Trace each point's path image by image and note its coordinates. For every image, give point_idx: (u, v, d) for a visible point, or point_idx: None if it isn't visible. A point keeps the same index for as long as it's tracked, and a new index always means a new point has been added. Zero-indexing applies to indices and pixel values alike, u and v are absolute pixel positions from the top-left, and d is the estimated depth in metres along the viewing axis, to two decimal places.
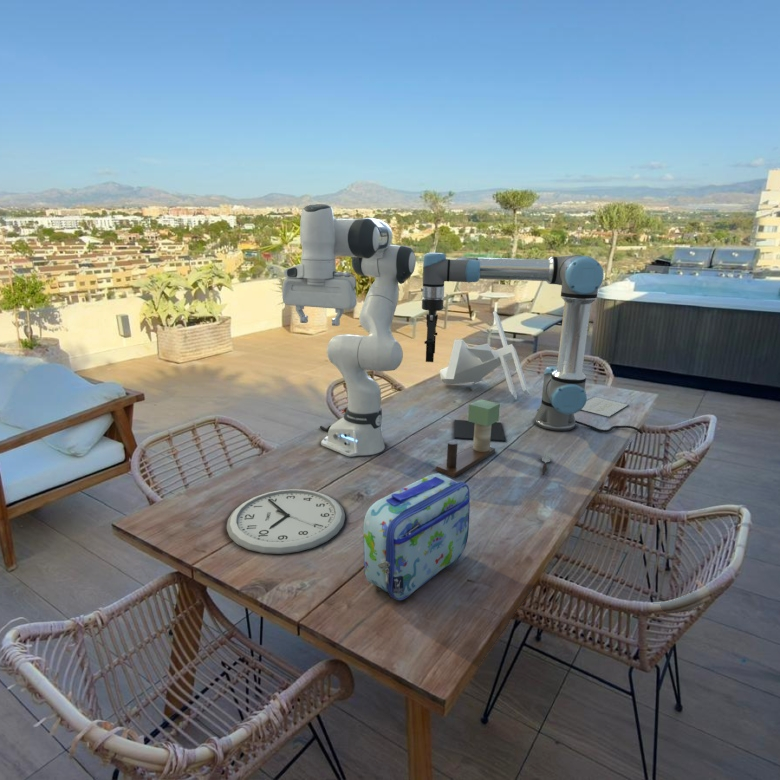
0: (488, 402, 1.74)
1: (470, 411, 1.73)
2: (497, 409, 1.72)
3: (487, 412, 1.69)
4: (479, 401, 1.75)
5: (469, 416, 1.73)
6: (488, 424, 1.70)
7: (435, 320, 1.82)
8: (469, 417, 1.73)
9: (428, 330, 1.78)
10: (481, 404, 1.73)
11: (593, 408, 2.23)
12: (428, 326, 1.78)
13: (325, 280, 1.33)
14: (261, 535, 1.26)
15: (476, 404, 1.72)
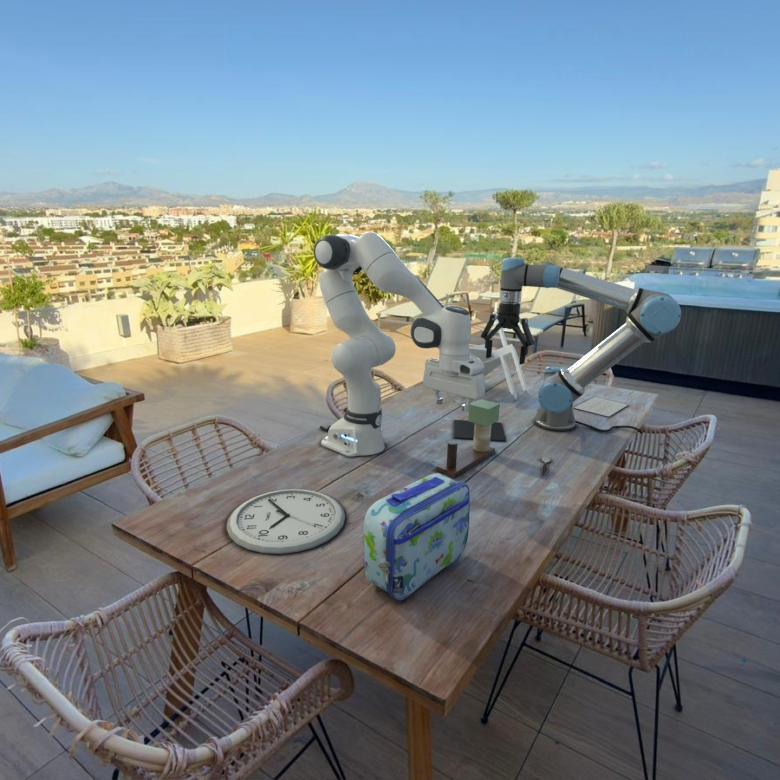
0: (488, 402, 1.74)
1: (470, 411, 1.73)
2: (497, 409, 1.72)
3: (487, 412, 1.69)
4: (479, 401, 1.75)
5: (469, 416, 1.73)
6: (488, 424, 1.70)
7: None
8: (469, 417, 1.73)
9: (528, 333, 1.83)
10: (481, 404, 1.73)
11: (593, 408, 2.23)
12: (526, 329, 1.83)
13: None
14: (261, 535, 1.26)
15: (476, 404, 1.72)
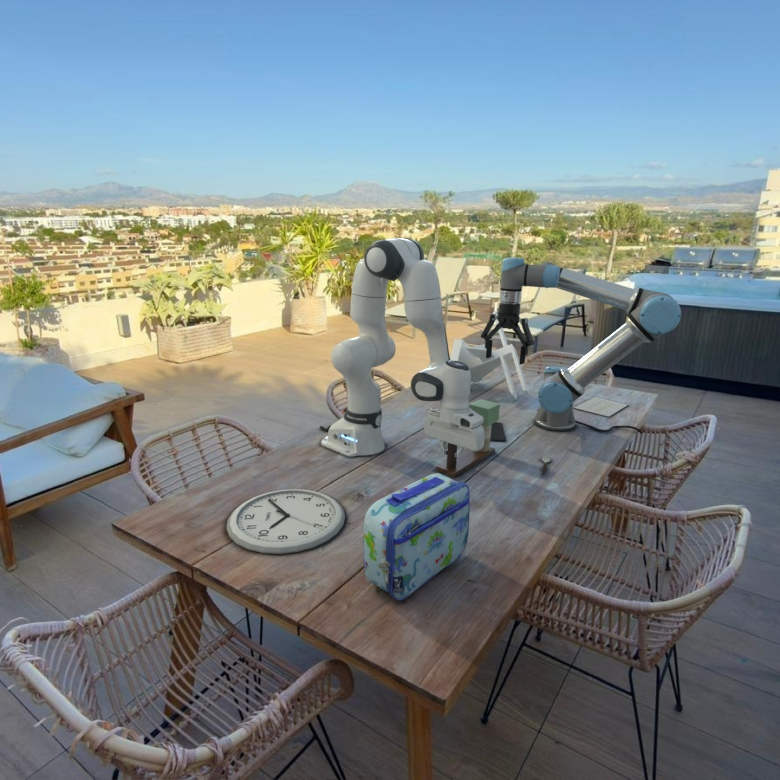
0: (488, 402, 1.74)
1: None
2: (497, 409, 1.72)
3: (487, 412, 1.69)
4: (479, 401, 1.75)
5: None
6: (488, 424, 1.70)
7: None
8: None
9: (528, 333, 1.83)
10: (481, 404, 1.73)
11: (593, 408, 2.23)
12: (526, 329, 1.83)
13: None
14: (261, 535, 1.26)
15: (476, 404, 1.72)
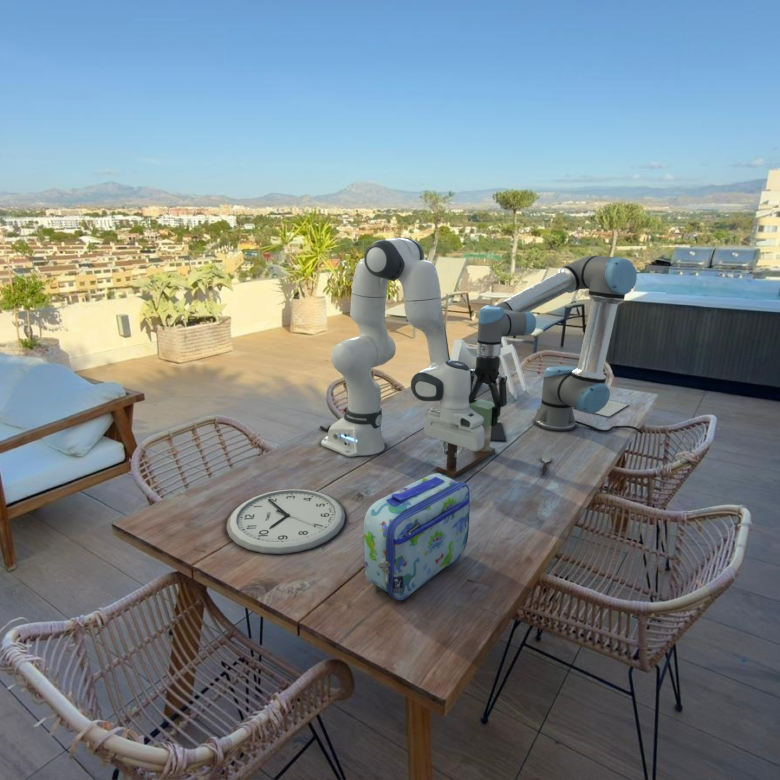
0: (488, 402, 1.74)
1: None
2: None
3: (487, 412, 1.69)
4: (479, 401, 1.75)
5: None
6: (488, 424, 1.70)
7: None
8: None
9: (503, 394, 1.67)
10: (481, 404, 1.73)
11: None
12: (503, 389, 1.66)
13: None
14: (261, 535, 1.26)
15: (476, 404, 1.72)
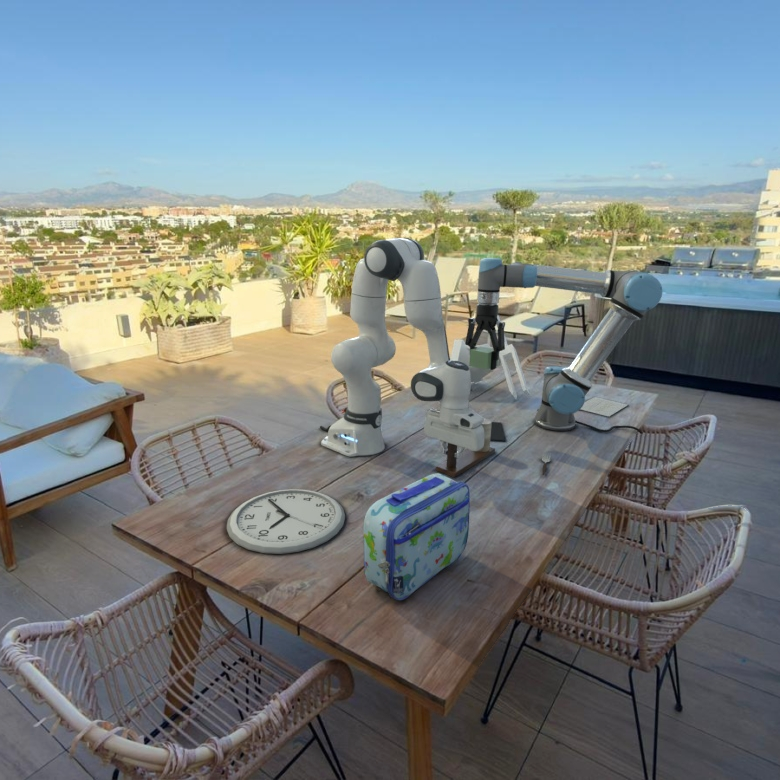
0: (487, 349, 1.89)
1: (471, 356, 1.87)
2: None
3: (487, 356, 1.83)
4: (479, 348, 1.90)
5: (470, 361, 1.88)
6: (488, 367, 1.85)
7: None
8: (470, 362, 1.88)
9: (501, 338, 1.81)
10: (481, 349, 1.87)
11: (593, 408, 2.23)
12: (501, 334, 1.81)
13: None
14: (261, 535, 1.26)
15: (477, 349, 1.87)
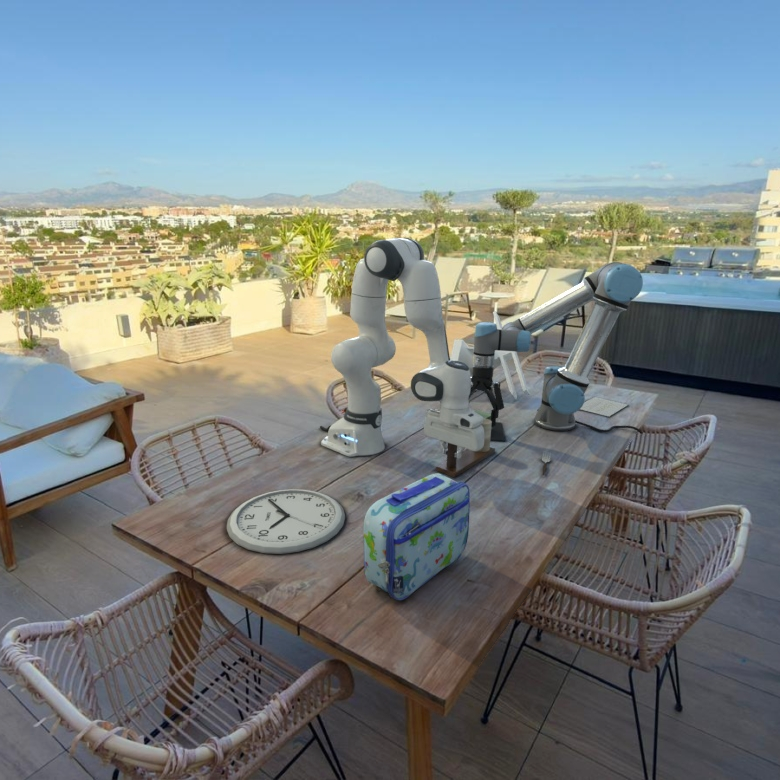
0: (482, 413, 1.96)
1: None
2: (490, 419, 1.95)
3: None
4: None
5: None
6: None
7: None
8: None
9: (499, 398, 1.87)
10: None
11: (593, 408, 2.23)
12: (498, 394, 1.87)
13: None
14: (261, 535, 1.26)
15: None
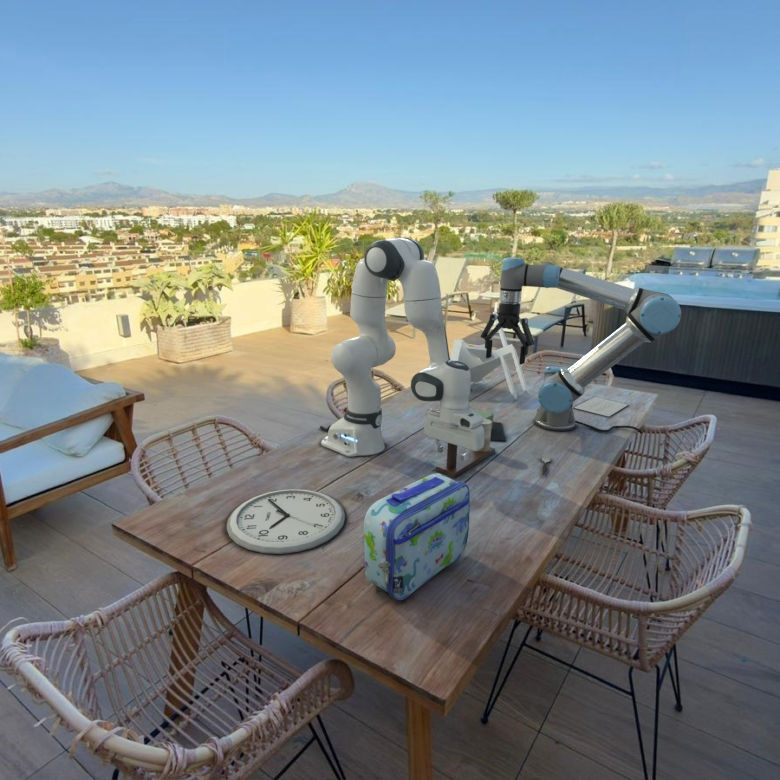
0: (482, 413, 1.96)
1: None
2: (490, 419, 1.95)
3: None
4: None
5: None
6: None
7: None
8: None
9: (528, 333, 1.83)
10: None
11: (593, 408, 2.23)
12: (526, 329, 1.83)
13: None
14: (261, 535, 1.26)
15: None
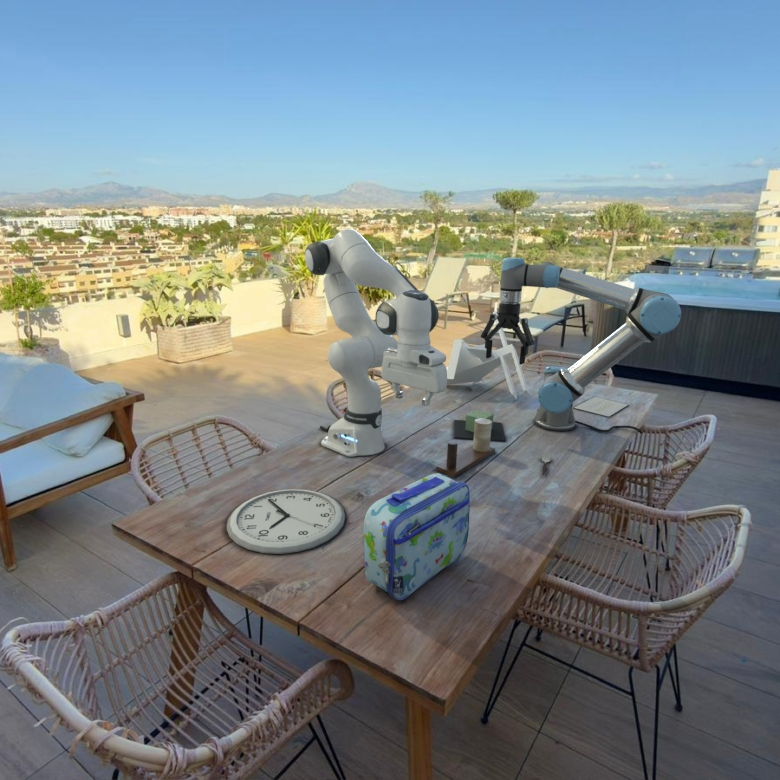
0: (482, 413, 1.96)
1: (467, 421, 1.95)
2: (490, 419, 1.95)
3: None
4: (475, 412, 1.97)
5: (466, 425, 1.96)
6: None
7: None
8: (466, 426, 1.96)
9: (528, 333, 1.83)
10: (477, 414, 1.95)
11: (593, 408, 2.23)
12: (526, 329, 1.83)
13: None
14: (261, 535, 1.26)
15: (472, 415, 1.94)
